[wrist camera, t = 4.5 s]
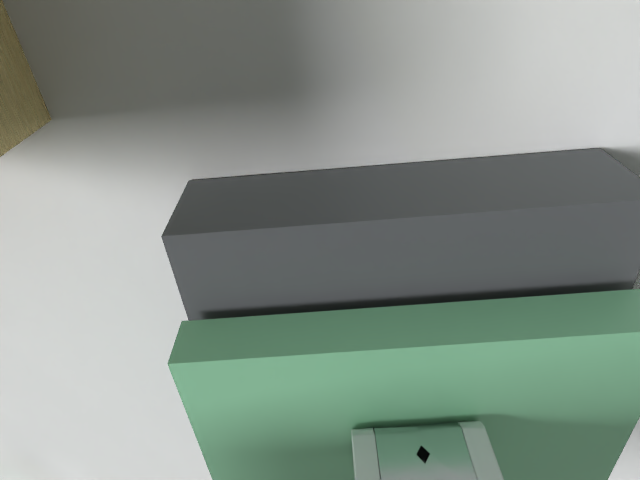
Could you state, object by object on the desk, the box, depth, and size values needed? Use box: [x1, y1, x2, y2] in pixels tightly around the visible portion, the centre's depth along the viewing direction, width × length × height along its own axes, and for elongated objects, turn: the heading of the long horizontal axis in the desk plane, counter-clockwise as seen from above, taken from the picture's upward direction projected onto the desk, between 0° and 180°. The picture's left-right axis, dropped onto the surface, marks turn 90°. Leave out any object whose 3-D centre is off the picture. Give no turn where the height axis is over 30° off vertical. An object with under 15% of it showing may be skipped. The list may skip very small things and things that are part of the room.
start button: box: [168, 289, 640, 480], centre depth 12 cm, size 10×6×3 cm, turn 94°
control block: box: [161, 148, 640, 321], centre depth 13 cm, size 10×10×2 cm
